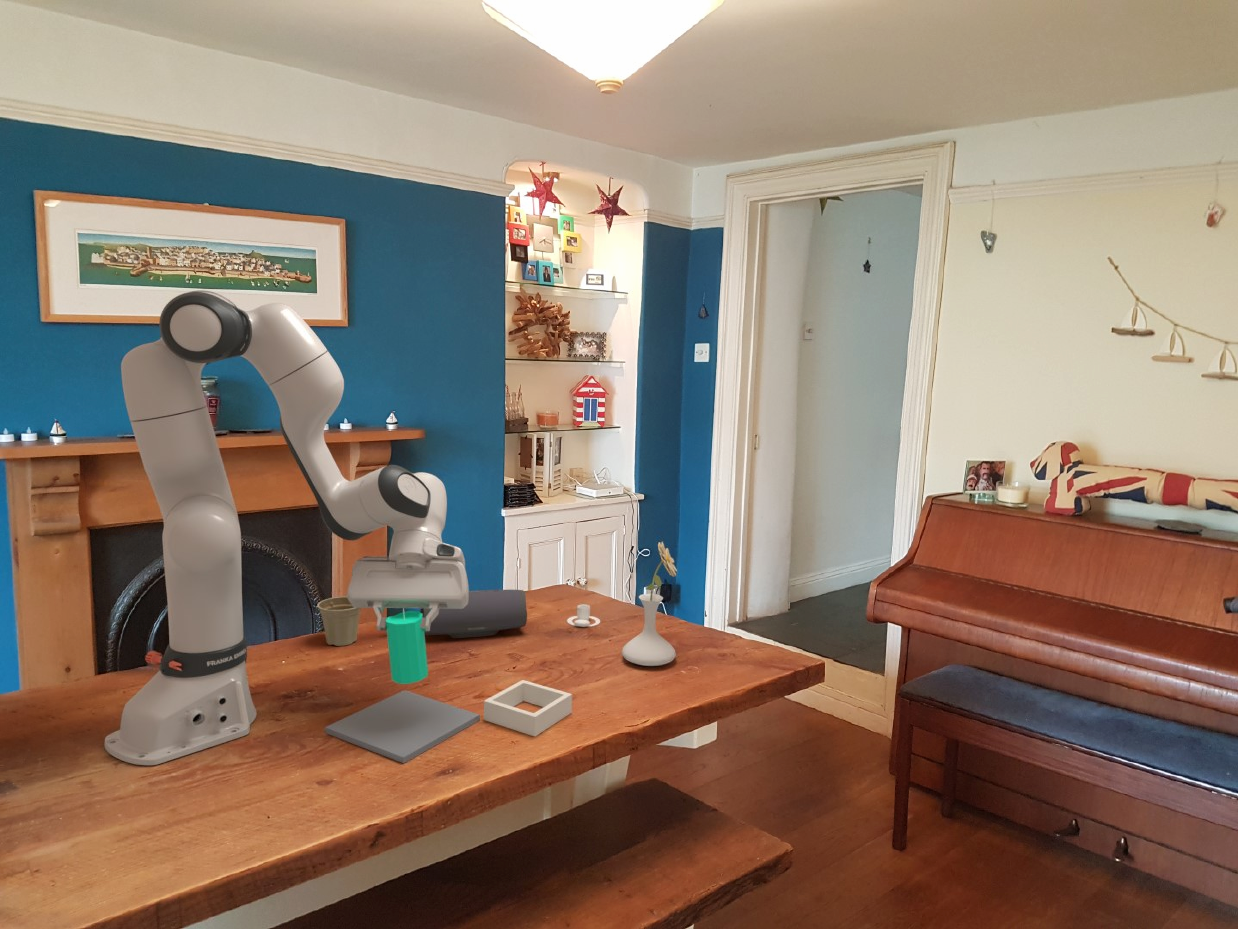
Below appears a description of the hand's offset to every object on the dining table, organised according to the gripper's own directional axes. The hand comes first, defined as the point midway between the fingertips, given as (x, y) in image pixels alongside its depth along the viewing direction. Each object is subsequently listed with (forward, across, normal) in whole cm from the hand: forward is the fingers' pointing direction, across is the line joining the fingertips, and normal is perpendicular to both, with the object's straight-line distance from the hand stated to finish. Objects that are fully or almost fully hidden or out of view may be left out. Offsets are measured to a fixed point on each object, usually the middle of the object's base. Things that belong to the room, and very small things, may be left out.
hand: (403, 629), depth 136 cm
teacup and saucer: (-26, +27, +52) cm, 64 cm away
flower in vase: (-10, +44, +36) cm, 58 cm away
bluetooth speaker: (-20, +5, +45) cm, 49 cm away
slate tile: (+12, 0, +13) cm, 17 cm away
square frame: (+9, +21, +16) cm, 27 cm away
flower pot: (-16, -22, +41) cm, 49 cm away
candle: (+6, +1, +7) cm, 9 cm away
